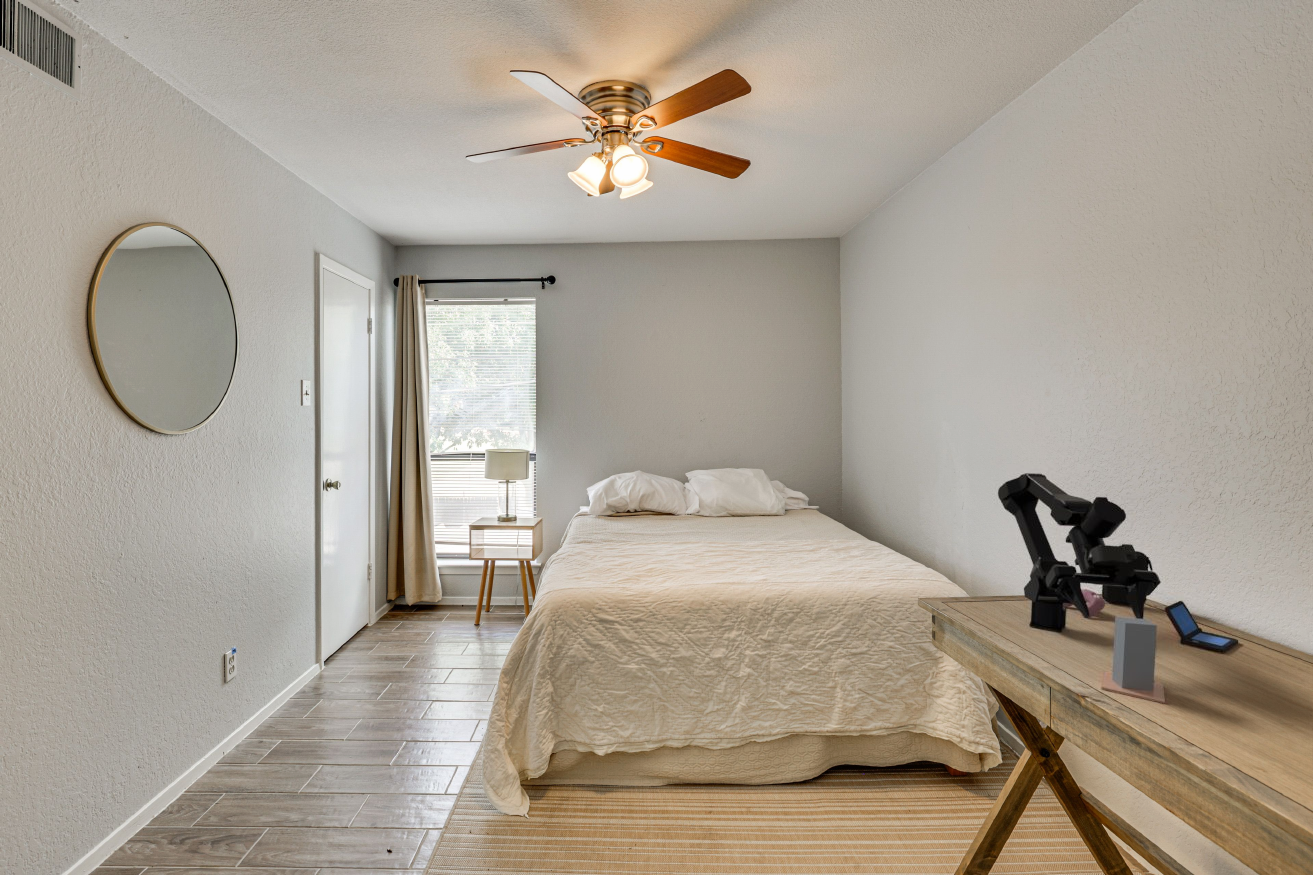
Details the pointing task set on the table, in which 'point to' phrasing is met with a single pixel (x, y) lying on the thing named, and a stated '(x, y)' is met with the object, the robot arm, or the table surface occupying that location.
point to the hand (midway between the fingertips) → (1114, 618)
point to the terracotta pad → (1149, 695)
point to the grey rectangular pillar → (1134, 653)
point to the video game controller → (1091, 602)
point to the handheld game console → (1196, 631)
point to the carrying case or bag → (1118, 592)
